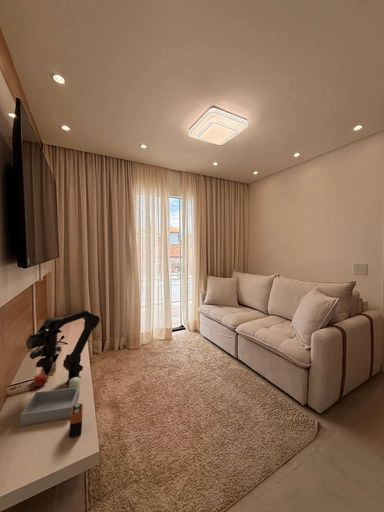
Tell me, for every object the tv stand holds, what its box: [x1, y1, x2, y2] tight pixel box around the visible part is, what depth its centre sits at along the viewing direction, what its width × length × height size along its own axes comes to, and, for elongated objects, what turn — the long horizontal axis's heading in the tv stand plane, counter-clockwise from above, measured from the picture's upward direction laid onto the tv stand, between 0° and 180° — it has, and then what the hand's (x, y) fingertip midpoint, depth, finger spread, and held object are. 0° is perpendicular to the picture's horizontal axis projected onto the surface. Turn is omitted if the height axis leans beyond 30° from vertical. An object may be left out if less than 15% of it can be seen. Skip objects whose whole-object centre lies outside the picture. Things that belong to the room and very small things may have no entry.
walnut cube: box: [41, 361, 57, 378], centre depth 111 cm, size 5×5×5 cm
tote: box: [19, 386, 81, 427], centre depth 99 cm, size 16×20×5 cm
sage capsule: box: [68, 377, 81, 388], centre depth 113 cm, size 5×5×7 cm
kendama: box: [33, 369, 50, 388], centre depth 123 cm, size 8×6×18 cm
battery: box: [68, 402, 84, 439], centre depth 88 cm, size 4×7×10 cm, turn 25°
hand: (48, 372), depth 111 cm, fingers closed on walnut cube, 5 cm apart
